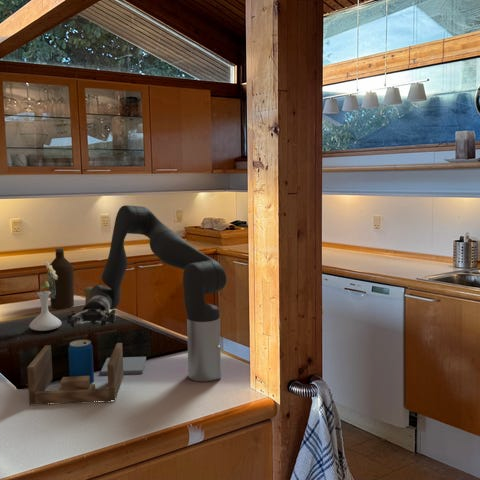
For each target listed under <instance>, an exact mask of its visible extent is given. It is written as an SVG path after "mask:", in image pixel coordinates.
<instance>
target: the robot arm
mask: <svg viewBox="0 0 480 480" xmlns="http://www.w3.org/2000/svg"><path fill="white" fill-rule="evenodd" d="M114 220H115V221H114V226H113V230H112V231H113V232H112V236H111V241H110V242H111V243H110V247H109V254H108V256H107V260H106V262H105V266H104V268H103V271H102V274H101V282H102V283H103V284H105V285H106V286H105V285H103V284H95V285H94V286H92V287H93V288H92V290H91V292H90V297H89V299H90V300H89V301H88V302H87V304H86V305H85V304H84V307H83V309H82V310H81V311H78V312H76V311H75V310H70V312H68V313H67V315H66V324H68V325H70V326H69V327H71V328H75V327H77V324H81V325H82V324H85V323H89V324H91V325H98V324H99V325H100V327H101V328H102V327H104V326H106V325H107V324H109V323H111V324H114V323H115V322H116V317H117V316H116V315H117V314H116V313H117V312H116V310H115V309H117V307H118V306H119V304H120V301H121V288H122V282H123V279H124V276H125V273H126V271H127V267H128V256H127V254H126V249H125V239H126V237H127V235H128V234H129V235H130V234H131V235H143V236H145V237H147V238H148V239H149V247H150V248H149V249H150V251H151V252H152V253H153V255H154V256H156V257H157V258H158V259H159V260H160V261H162V262H163V263H164V264H165V265H169V266H170V267H175V268H178V269H181V270H183V274H182V283H183V295H184V296H183V298H184V308H185V312H186V318H187V319H186V324H187V325H186V326H187V327H186V328H187V331H186V332H187V360H188V361H187V372H188V373H187V375H188V378H189V379H190V380H191V381H195V382H210V381H211V382H212V381H215V380H216V381H217V380H220V379H222V377H221V376H222V369H221V367H222V366H221V362H222V361H221V358H222V357H221V331H220V327H221V326H220V325H221V323H220V321H221V320H220V318H221V317H220V315H221V313H220V308H219V306H217V305H215V304H212V303H211V304H210V303H207V302H206V299H205V295H210V294H215V293H217V292H220V291H221V290H223V289H224V288H225V287H226V284H227V274H226V272H225V269H224V267H223V266H222V265H221V264H220V263H219V262H218V261H217V260H216V259H214V258H212V257H210V256H208V255H207V254H205V253H203V252H201V251H199V250H198V249H197V248H196V247H194V246H193V245H192V244H190V243H188V242H187V240H185V239H183V238H182V237H181V236H180V235H179V234H178V233H176V232H175V231H174V230H172V229H171V228H169V227H168V226H167V225H166V224H164V223H163V222H162V221H161V220H160V219H159V218H158V217H157V216H156V214H155V213H154V212H153V211H151V210H150V209H149V208H148V207H145V206H138V205H127V204H126V205H125V204H124V205H123V206H120V208H119V209H118V211H117V214H116V216H115V219H114ZM110 310H111V311H110Z"/></svg>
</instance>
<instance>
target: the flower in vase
mask: <svg viewBox="0 0 480 480" xmlns="http://www.w3.org/2000/svg"><path fill="white" fill-rule="evenodd" d="M44 264H45V267H46V269H47V273H46V275H45V278H44V280H43V284H42V285H41V286H40V287H39V288H40V289H41V290H42V291H38V292H36V295H37V296H38V298H39V301H40V305H41V308H40V309H41V312H40V313H39V314H38V315H37V316H36V317H35V318H34V319H33V320H32V321H31V322H30V323H29V328H30V329H31V330H33V331H38V332H45V331H51V330H52V331H53V330H55V329H58V328H60V327H61V326H62V323H63V322H62V321H61V320H60V319H59V318H58V317H56V316H55V315H54V314H52V313H51V312H50V311H49V306H48V304H49V303H48V301H49V298H50V293H51V292H50V291H49V290H47V291H46V290H45V289H46V288H49V286H50V285H49V281H48V280H46V279H47V278H48V273H50V274H51V276H52V277H53V278H54V279H56V280H57V277H58V276H57V275H56V274H55V273H56V271H55V270H53V268H52V265H50V263H49V261H44Z"/></svg>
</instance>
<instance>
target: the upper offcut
mask: <svg viewBox="0 0 480 480" xmlns="http://www.w3.org/2000/svg"><path fill="white" fill-rule="evenodd" d="M59 382H60V386H61V390H86V389H89V386H90V376H74V377H70V376H62V378H61V380H60V381H59Z"/></svg>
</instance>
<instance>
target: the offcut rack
mask: <svg viewBox="0 0 480 480" xmlns="http://www.w3.org/2000/svg"><path fill="white" fill-rule="evenodd" d="M123 357H124V355H123V342H117V343H116V344H115V347H114V349H113V351H112V353H111V355H110V357H109V358H110V360H109V362H108V364H107V370H108V375H107V388H95V389H86V390H59V391H58V390H47V388H48V387H49V385H50V384H51V382H52V381H53V363H52V361H53V360H52V346H51V344H49V345H44V346H43V348H41V350H40V352H38V354H37V355H36V356H35V357H34V358H33V360H32V361H31V362H30V363H29V365H28V366H27V368H26V370H27V385H28V400H29V401H28V403H29V406H32V405H31V404H43V405H51V404H50V403H70V404H82V403H81V402H94V401H95V402H96V401H97V402H96V403H99V402H98V401H111V400H115V398H116V399H117V397H118V394H119V391H120V388H121V385H122V382H123V380H124V377H125V376H124V374H123ZM118 390H119V391H118ZM117 393H118V394H117ZM116 396H117V397H116ZM115 401H116V400H115ZM77 402H78V403H77ZM79 402H80V403H79ZM48 403H49V404H48Z"/></svg>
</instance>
